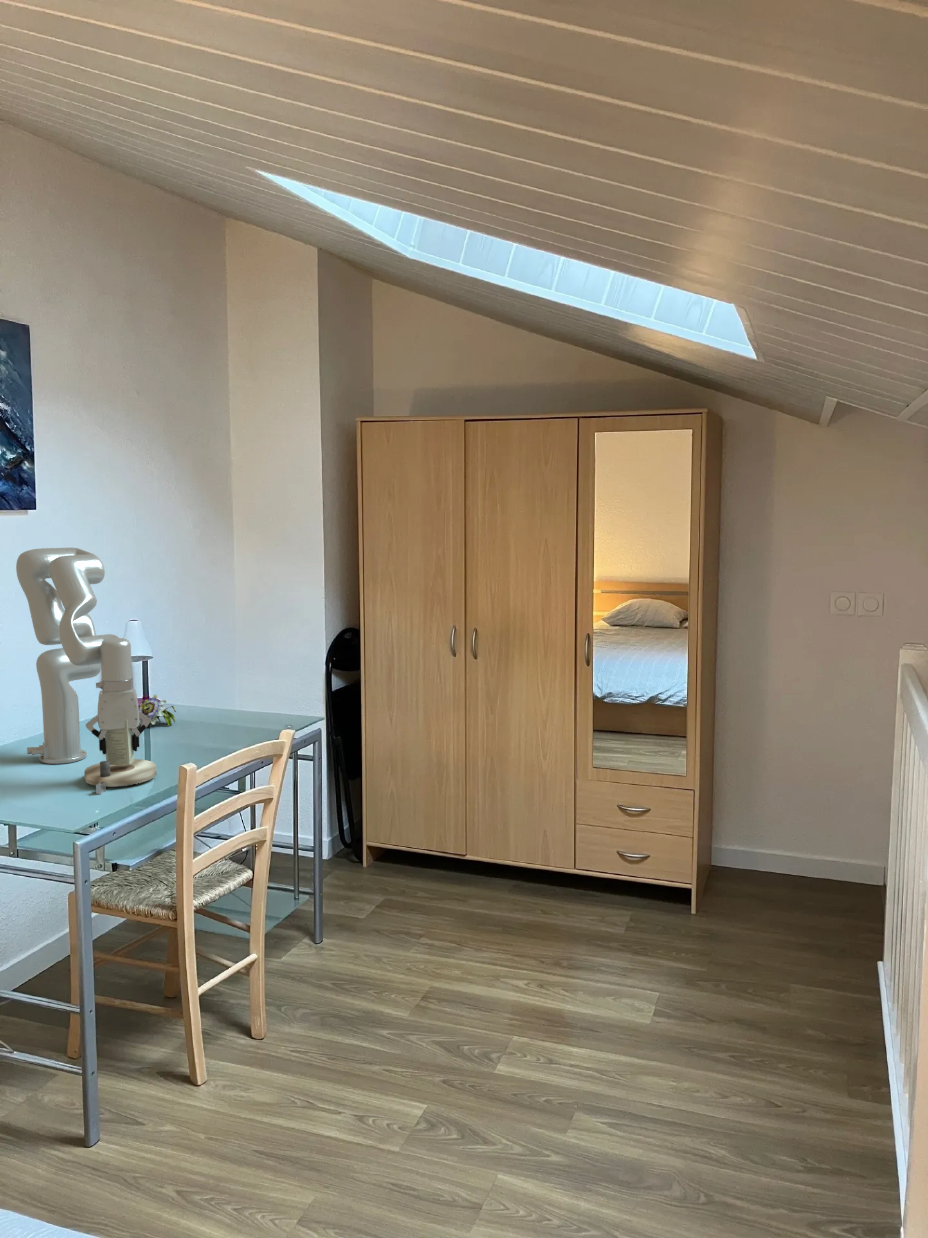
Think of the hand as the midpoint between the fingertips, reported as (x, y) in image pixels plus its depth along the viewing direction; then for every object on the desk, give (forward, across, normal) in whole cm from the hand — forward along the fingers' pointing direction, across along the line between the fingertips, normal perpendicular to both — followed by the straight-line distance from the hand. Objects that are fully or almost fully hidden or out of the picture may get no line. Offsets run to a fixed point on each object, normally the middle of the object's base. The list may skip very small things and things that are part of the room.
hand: (119, 751), depth 260 cm
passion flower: (+8, +16, +60) cm, 62 cm away
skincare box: (+3, 0, 0) cm, 3 cm away
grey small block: (+8, -6, -10) cm, 14 cm away
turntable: (+8, 0, 0) cm, 8 cm away
